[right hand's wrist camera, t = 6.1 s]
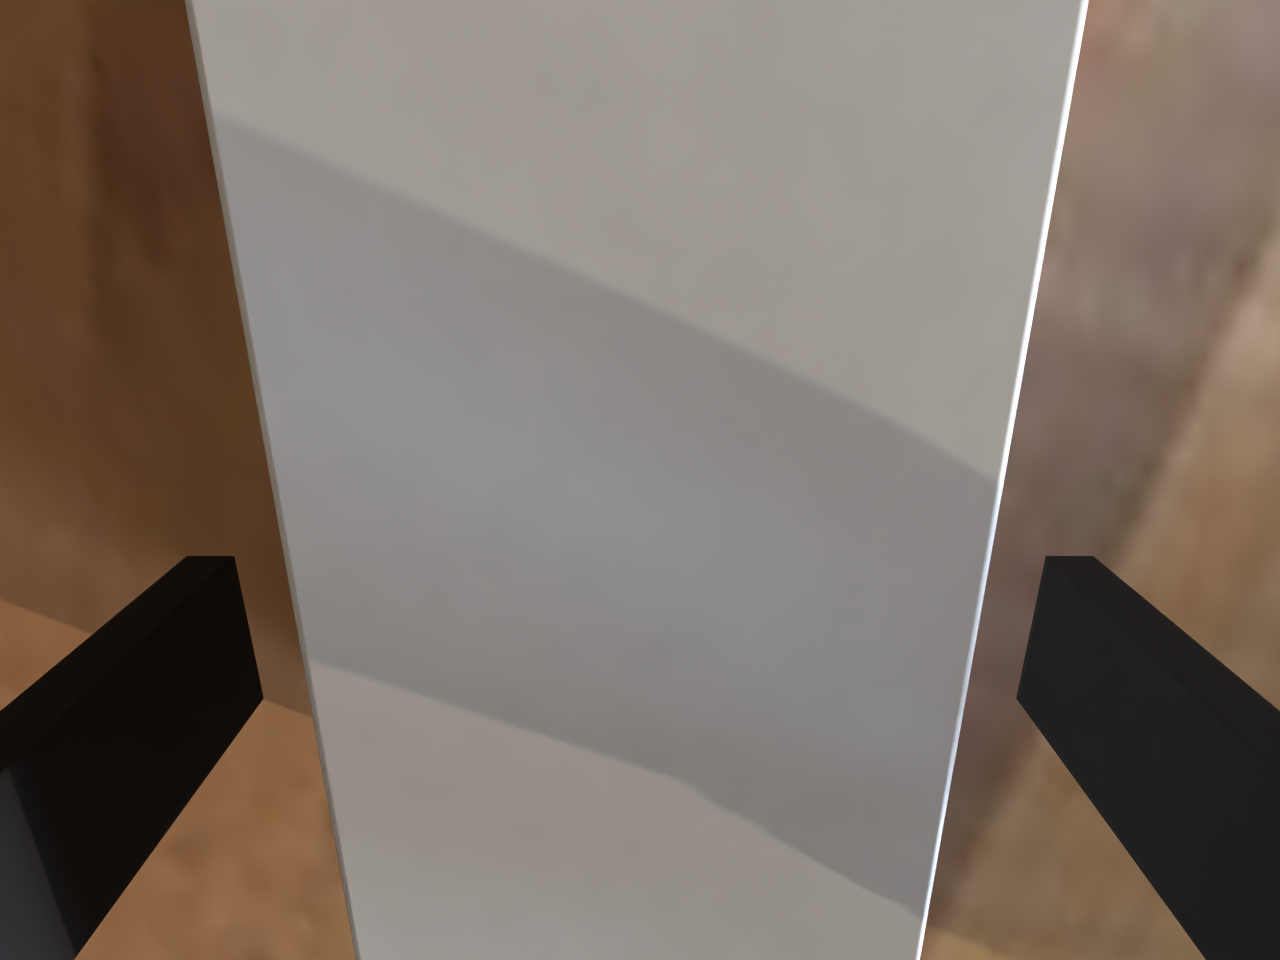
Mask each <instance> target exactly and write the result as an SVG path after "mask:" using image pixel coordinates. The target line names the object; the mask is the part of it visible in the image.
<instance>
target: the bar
mask: <svg viewBox="0 0 1280 960" xmlns="http://www.w3.org/2000/svg"><path fill="white" fill-rule="evenodd" d="M185 5H186V11H187V17H188V22H189V28H190V33H191V39H192V45H193V50H194V56H195V61H196V67H197V73H198V78H199V84H200V89H201V95H202V100H203V106H204V112H205V117H206V123H207V128H208V134H209V140H210V145H211V151H212V156H213V162H214V168H215V173H216V179H217V184H218V190H219V196H220V201H221V207H222V212H223V218H224V224H225V229H226V235H227V240H228V246H229V252H230V257H231V263H232V268H233V274H234V280H235V285H236V291H237V296H238V302H239V307H240V313H241V319H242V324H243V330H244V335H245V341H246V347H247V352H248V358H249V363H250V369H251V375H252V380H253V386H254V391H255V397H256V403H257V408H258V414H259V419H260V425H261V431H262V436H263V442H264V447H265V453H266V459H267V464H268V470H269V475H270V481H271V487H272V492H273V498H274V503H275V509H276V514H277V520H278V526H279V531H280V537H281V542H282V548H283V554H284V559H285V565H286V570H287V576H288V582H289V587H290V593H291V598H292V604H293V610H294V615H295V621H296V626H297V632H298V638H299V643H300V649H301V654H302V660H303V666H304V671H305V677H306V682H307V688H308V694H309V699H310V705H311V710H312V716H313V721H314V727H315V733H316V738H317V744H318V749H319V755H320V761H321V766H322V772H323V777H324V783H325V789H326V794H327V800H328V805H329V811H330V817H331V822H332V828H333V833H334V839H335V845H336V850H337V856H338V861H339V867H340V873H341V878H342V884H343V889H344V895H345V900H346V906H347V912H348V917H349V923H350V928H351V934H352V940H353V945H354V951H355V956H356V960H920V955H921V949H922V944H923V938H924V932H925V927H926V921H927V915H928V910H929V904H930V898H931V893H932V887H933V881H934V876H935V870H936V864H937V859H938V853H939V847H940V841H941V836H942V830H943V824H944V819H945V813H946V807H947V802H948V796H949V790H950V785H951V779H952V773H953V768H954V762H955V756H956V751H957V745H958V739H959V733H960V728H961V722H962V716H963V711H964V705H965V699H966V694H967V688H968V682H969V677H970V671H971V665H972V660H973V654H974V648H975V643H976V637H977V631H978V626H979V620H980V614H981V608H982V603H983V597H984V591H985V586H986V580H987V574H988V569H989V563H990V557H991V552H992V546H993V540H994V535H995V529H996V523H997V518H998V512H999V506H1000V501H1001V495H1002V489H1003V483H1004V478H1005V472H1006V466H1007V461H1008V455H1009V449H1010V444H1011V438H1012V432H1013V427H1014V421H1015V415H1016V410H1017V404H1018V398H1019V393H1020V387H1021V381H1022V376H1023V370H1024V364H1025V358H1026V353H1027V347H1028V341H1029V336H1030V330H1031V324H1032V319H1033V313H1034V307H1035V302H1036V296H1037V290H1038V285H1039V279H1040V273H1041V268H1042V262H1043V256H1044V251H1045V245H1046V239H1047V233H1048V228H1049V222H1050V216H1051V211H1052V205H1053V199H1054V194H1055V188H1056V182H1057V177H1058V171H1059V165H1060V160H1061V154H1062V148H1063V143H1064V137H1065V131H1066V126H1067V120H1068V114H1069V108H1070V103H1071V97H1072V91H1073V86H1074V80H1075V74H1076V69H1077V63H1078V57H1079V52H1080V46H1081V40H1082V35H1083V29H1084V23H1085V18H1086V12H1087V6H1088V0H185Z"/></svg>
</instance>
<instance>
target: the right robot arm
mask: <svg viewBox="0 0 1280 960" xmlns="http://www.w3.org/2000/svg"><path fill="white" fill-rule="evenodd" d="M262 700H263V693H262V688H261V684H260V679H259V674H258V669H257V664H256V659H255V655H254V650H253V645H252V640H251V635H250V630H249V625H248V621H247V616H246V611H245V606H244V601H243V596H242V592H241V587H240V582H239V577H238V572H237V567H236V563H235V558H234V556H186V557H185V558H184V559H183V560H182V561H180V562H179V563H178V564H177V565H176V566H174V567H173V568H172V569H171V570H170V571H168V572H167V573H166V574H165V575H164V576H162V577H161V578H160V579H159V580H158V581H156V582H155V583H154V584H153V585H152V586H150V587H149V588H148V589H147V590H146V591H144V592H143V593H142V594H141V595H140V596H138V597H137V598H136V599H135V600H133V601H132V602H131V603H130V604H129V605H127V606H126V607H125V608H124V609H123V610H121V611H120V612H119V613H118V614H117V615H115V616H114V617H113V618H112V619H111V620H109V621H108V622H107V623H106V624H105V625H103V626H102V627H101V628H100V629H99V630H97V631H96V632H95V633H94V634H93V635H91V636H90V637H89V638H88V639H87V640H85V641H84V642H83V643H82V644H81V645H79V646H78V647H77V648H76V649H75V650H73V651H72V652H71V653H70V654H69V655H67V656H66V657H65V658H64V659H63V660H61V661H60V662H59V663H58V664H57V665H55V666H54V667H53V668H52V669H50V670H49V671H48V672H47V673H46V674H44V675H43V676H42V677H41V678H40V679H38V680H37V681H36V682H35V683H34V684H32V685H31V686H30V687H29V688H28V689H26V690H25V691H24V692H23V693H22V694H20V695H19V696H18V697H17V698H16V699H14V700H13V701H12V702H11V703H10V704H8V705H7V706H6V707H5V708H4V709H2V710H1V711H0V960H74V959H75V958H76V956H77V955H78V953H79V952H80V951H81V949H82V948H83V946H84V945H85V944H86V942H87V941H88V940H89V938H90V937H91V935H92V934H93V933H94V931H95V930H96V929H97V927H98V926H99V924H100V923H101V922H102V920H103V919H104V918H105V916H106V915H107V913H108V912H109V911H110V909H111V908H112V907H113V905H114V904H115V902H116V901H117V900H118V898H119V897H120V895H121V894H122V893H123V891H124V890H125V889H126V887H127V886H128V884H129V883H130V882H131V880H132V879H133V878H134V876H135V875H136V873H137V872H138V871H139V869H140V868H141V867H142V865H143V864H144V862H145V861H146V860H147V858H148V857H149V856H150V854H151V853H152V851H153V850H154V849H155V847H156V846H157V844H158V843H159V842H160V840H161V839H162V838H163V836H164V835H165V833H166V832H167V831H168V829H169V828H170V827H171V825H172V824H173V822H174V821H175V820H176V818H177V817H178V816H179V814H180V813H181V811H182V810H183V809H184V807H185V806H186V805H187V803H188V802H189V800H190V799H191V798H192V796H193V795H194V793H195V792H196V791H197V789H198V788H199V787H200V785H201V784H202V782H203V781H204V780H205V778H206V777H207V776H208V774H209V773H210V771H211V770H212V769H213V767H214V766H215V765H216V763H217V762H218V760H219V759H220V758H221V756H222V755H223V754H224V752H225V751H226V749H227V748H228V747H229V745H230V744H231V742H232V741H233V740H234V738H235V737H236V736H237V734H238V733H239V731H240V730H241V729H242V727H243V726H244V725H245V723H246V722H247V720H248V719H249V718H250V716H251V715H252V714H253V712H254V711H255V709H256V708H257V707H258V705H259V704H260V703H261V701H262ZM1017 700H1018V701H1019V703H1020V704H1021V705H1022V707H1023V708H1024V709H1025V711H1026V712H1027V714H1028V715H1029V716H1030V718H1031V719H1032V720H1033V722H1034V723H1035V725H1036V726H1037V727H1038V729H1039V730H1040V731H1041V733H1042V734H1043V736H1044V737H1045V738H1046V740H1047V741H1048V742H1049V744H1050V745H1051V747H1052V748H1053V749H1054V751H1055V752H1056V754H1057V755H1058V756H1059V758H1060V759H1061V760H1062V762H1063V763H1064V765H1065V766H1066V767H1067V769H1068V770H1069V771H1070V773H1071V774H1072V776H1073V777H1074V778H1075V780H1076V781H1077V782H1078V784H1079V785H1080V787H1081V788H1082V789H1083V791H1084V792H1085V793H1086V795H1087V796H1088V798H1089V799H1090V800H1091V802H1092V803H1093V805H1094V806H1095V807H1096V809H1097V810H1098V811H1099V813H1100V814H1101V816H1102V817H1103V818H1104V820H1105V821H1106V822H1107V824H1108V825H1109V827H1110V828H1111V829H1112V831H1113V832H1114V833H1115V835H1116V836H1117V838H1118V839H1119V840H1120V842H1121V843H1122V844H1123V846H1124V847H1125V849H1126V850H1127V851H1128V853H1129V854H1130V856H1131V857H1132V858H1133V860H1134V861H1135V862H1136V864H1137V865H1138V867H1139V868H1140V869H1141V871H1142V872H1143V873H1144V875H1145V876H1146V878H1147V879H1148V880H1149V882H1150V883H1151V884H1152V886H1153V887H1154V889H1155V890H1156V891H1157V893H1158V894H1159V895H1160V897H1161V898H1162V900H1163V901H1164V902H1165V904H1166V905H1167V907H1168V908H1169V909H1170V911H1171V912H1172V913H1173V915H1174V916H1175V918H1176V919H1177V920H1178V922H1179V923H1180V924H1181V926H1182V927H1183V929H1184V930H1185V931H1186V933H1187V934H1188V935H1189V937H1190V938H1191V940H1192V941H1193V942H1194V944H1195V945H1196V946H1197V948H1198V949H1199V951H1200V952H1201V953H1202V955H1203V956H1204V958H1205V959H1206V960H1280V711H1279V710H1278V709H1276V708H1275V707H1274V706H1273V705H1272V704H1270V703H1269V702H1268V701H1267V700H1266V699H1264V698H1263V697H1262V696H1261V695H1260V694H1258V693H1257V692H1256V691H1255V690H1254V689H1252V688H1251V687H1250V686H1249V685H1248V684H1246V683H1245V682H1244V681H1243V680H1242V679H1240V678H1239V677H1238V676H1237V675H1236V674H1234V673H1233V672H1232V671H1231V670H1230V669H1228V668H1227V667H1226V666H1225V665H1223V664H1222V663H1221V662H1220V661H1219V660H1217V659H1216V658H1215V657H1214V656H1213V655H1211V654H1210V653H1209V652H1208V651H1207V650H1205V649H1204V648H1203V647H1202V646H1201V645H1199V644H1198V643H1197V642H1196V641H1195V640H1193V639H1192V638H1191V637H1190V636H1189V635H1187V634H1186V633H1185V632H1184V631H1183V630H1181V629H1180V628H1179V627H1178V626H1177V625H1175V624H1174V623H1173V622H1172V621H1171V620H1169V619H1168V618H1167V617H1166V616H1165V615H1163V614H1162V613H1161V612H1160V611H1159V610H1157V609H1156V608H1155V607H1154V606H1153V605H1151V604H1150V603H1149V602H1148V601H1147V600H1145V599H1144V598H1143V597H1142V596H1140V595H1139V594H1138V593H1137V592H1136V591H1134V590H1133V589H1132V588H1131V587H1130V586H1128V585H1127V584H1126V583H1125V582H1124V581H1122V580H1121V579H1120V578H1119V577H1118V576H1116V575H1115V574H1114V573H1113V572H1112V571H1110V570H1109V569H1108V568H1107V567H1106V566H1104V565H1103V564H1102V563H1101V562H1100V561H1098V560H1097V559H1096V558H1095V557H1094V556H1046V558H1045V563H1044V567H1043V572H1042V577H1041V582H1040V587H1039V592H1038V596H1037V601H1036V606H1035V611H1034V616H1033V621H1032V625H1031V630H1030V635H1029V640H1028V645H1027V650H1026V655H1025V659H1024V664H1023V669H1022V674H1021V679H1020V684H1019V688H1018V693H1017Z"/></svg>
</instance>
